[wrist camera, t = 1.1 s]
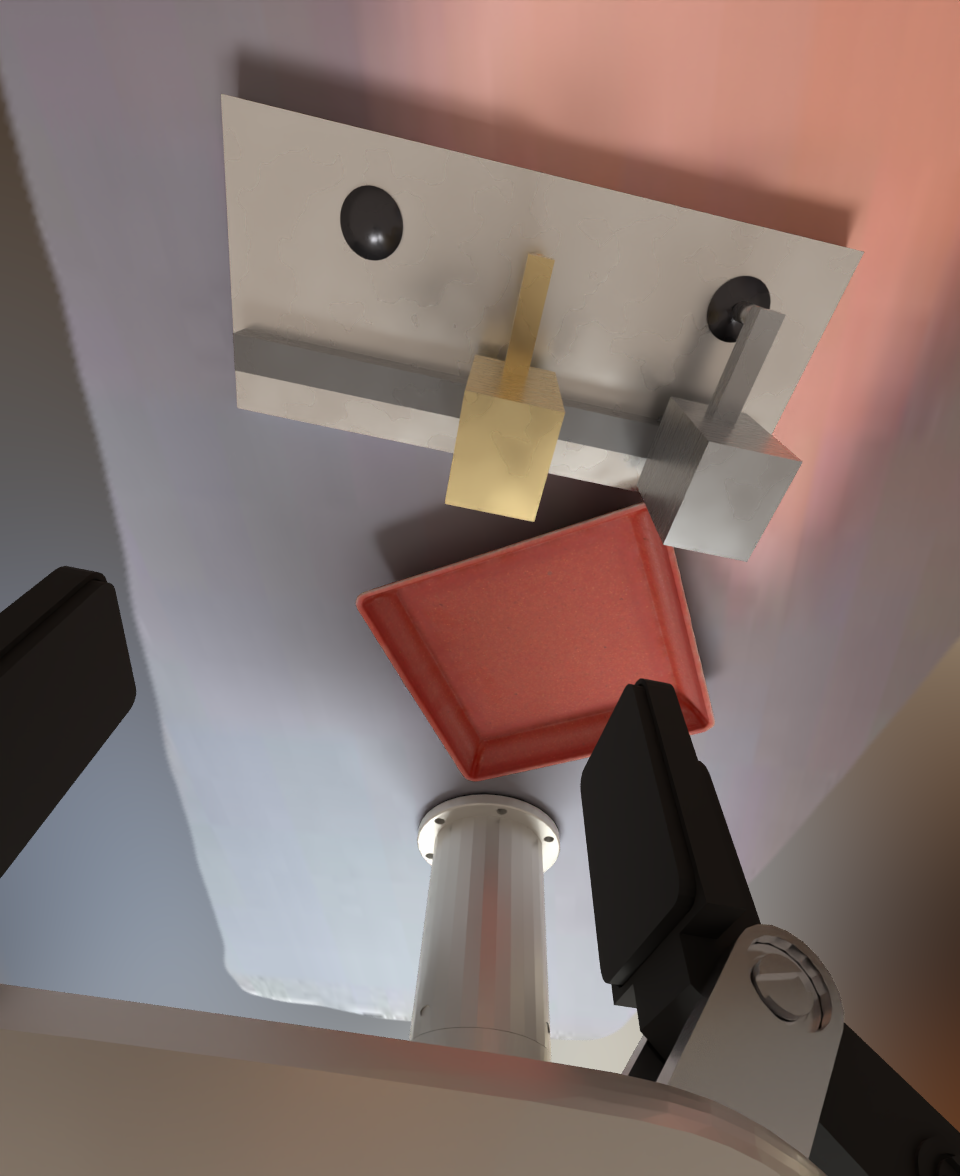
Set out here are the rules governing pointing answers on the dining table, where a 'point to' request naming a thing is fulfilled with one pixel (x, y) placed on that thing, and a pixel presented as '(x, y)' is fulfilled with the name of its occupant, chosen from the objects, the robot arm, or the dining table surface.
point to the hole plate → (488, 303)
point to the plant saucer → (541, 641)
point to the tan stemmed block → (509, 416)
